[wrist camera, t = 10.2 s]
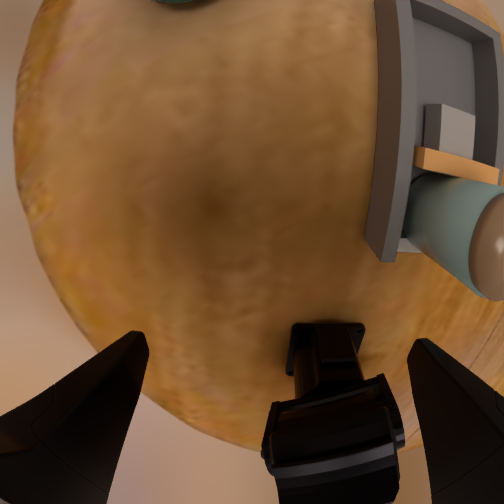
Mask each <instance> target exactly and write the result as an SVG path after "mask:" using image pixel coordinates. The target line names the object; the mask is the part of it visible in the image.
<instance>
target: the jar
mask: <svg viewBox="0 0 504 504" xmlns="http://www.w3.org/2000/svg"><path fill="white" fill-rule="evenodd" d="M403 230H404V232H405V235H406V237H407V239H408V240H409V242H410V243H411V244H412V245H413V246H414V247H416V248H417V249H418V250H420V251H421V252H423V253H424V254H425V255H427V256H428V257H429V258H431V259H432V260H433V261H435V262H436V263H438V264H439V265H440V266H441V267H443V268H444V269H445V270H447V271H448V272H449V273H451V274H452V275H453V276H454V277H456V278H457V279H458V280H459V281H461V282H462V283H463V284H464V285H466V286H467V287H468V288H469V289H471V290H472V291H473V292H474V293H475V294H477V295H478V296H480V297H484V298H488V299H489V300H492V301H501V300H504V187H502V186H498V185H494V184H490V183H485V182H481V181H476V180H472V179H467V178H462V177H456V176H451V175H446V174H440V173H429V174H425V175H423V176H421V177H420V178H418V179H417V180H416V181H415V182H414V183H413V184H412V185H411V187H410V188H409V193H408V199H407V205H406V211H405V216H404V221H403Z"/></svg>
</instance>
